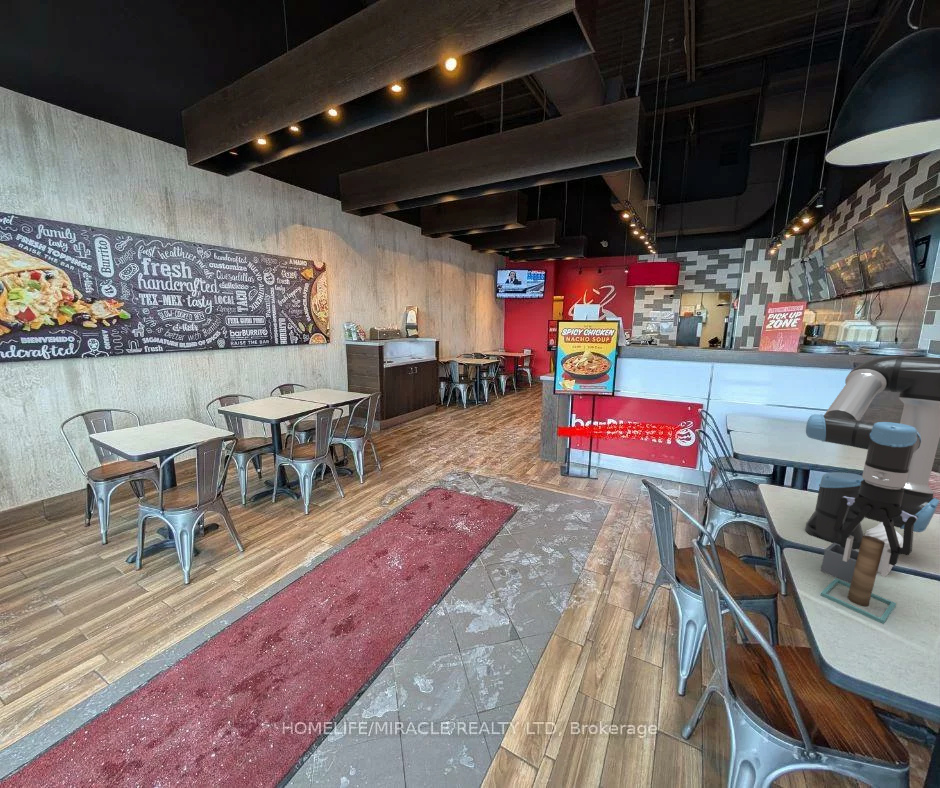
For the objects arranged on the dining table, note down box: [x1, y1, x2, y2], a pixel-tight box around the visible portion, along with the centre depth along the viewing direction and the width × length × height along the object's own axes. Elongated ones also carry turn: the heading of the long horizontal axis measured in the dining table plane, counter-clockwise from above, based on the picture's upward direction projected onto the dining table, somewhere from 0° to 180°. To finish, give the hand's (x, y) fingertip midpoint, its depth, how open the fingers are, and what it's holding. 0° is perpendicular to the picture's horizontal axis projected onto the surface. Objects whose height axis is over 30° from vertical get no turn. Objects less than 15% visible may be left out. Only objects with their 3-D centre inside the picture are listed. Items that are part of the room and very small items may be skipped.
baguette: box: [847, 535, 885, 607], centre depth 101 cm, size 4×4×18 cm
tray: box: [819, 577, 897, 625], centre depth 102 cm, size 12×12×2 cm
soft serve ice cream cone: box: [864, 522, 903, 574], centre depth 115 cm, size 8×8×16 cm
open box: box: [820, 542, 859, 584], centre depth 113 cm, size 8×8×8 cm
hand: (864, 566), depth 101 cm, fingers open, 7 cm apart
